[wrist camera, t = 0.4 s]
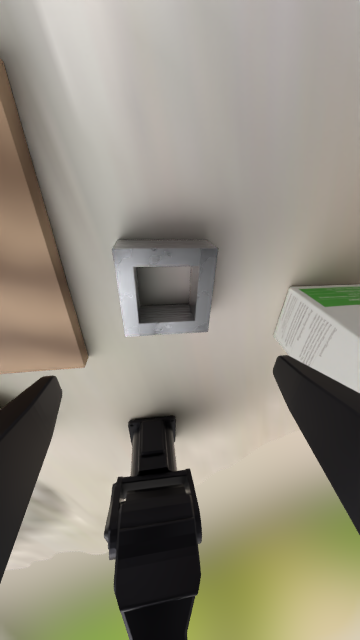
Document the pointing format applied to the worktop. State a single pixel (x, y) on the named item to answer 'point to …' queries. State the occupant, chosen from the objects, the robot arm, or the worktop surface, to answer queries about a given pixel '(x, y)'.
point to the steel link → (159, 255)
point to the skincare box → (323, 330)
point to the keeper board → (30, 263)
